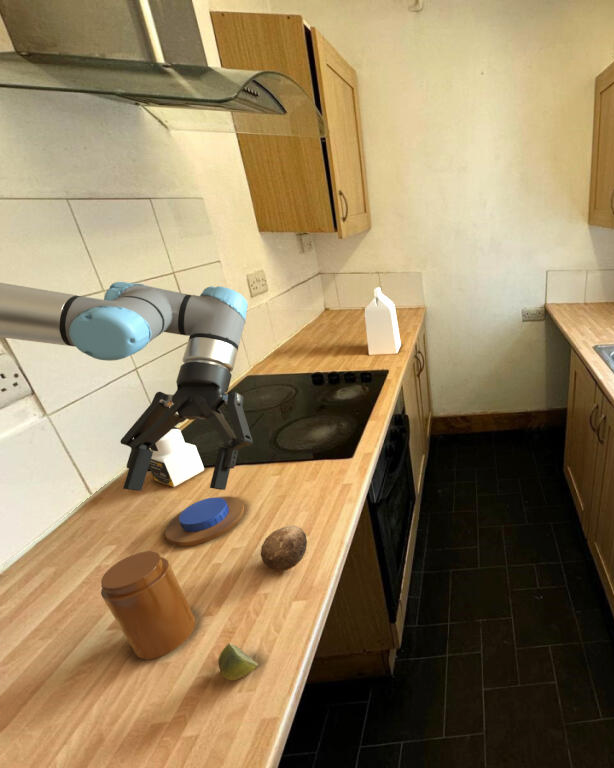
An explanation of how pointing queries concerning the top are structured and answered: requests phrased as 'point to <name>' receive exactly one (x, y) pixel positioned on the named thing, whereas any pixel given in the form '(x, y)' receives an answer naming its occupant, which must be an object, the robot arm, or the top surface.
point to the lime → (235, 663)
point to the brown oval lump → (284, 548)
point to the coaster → (187, 538)
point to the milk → (382, 325)
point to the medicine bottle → (174, 459)
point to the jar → (148, 604)
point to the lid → (203, 514)
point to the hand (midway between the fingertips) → (174, 489)
